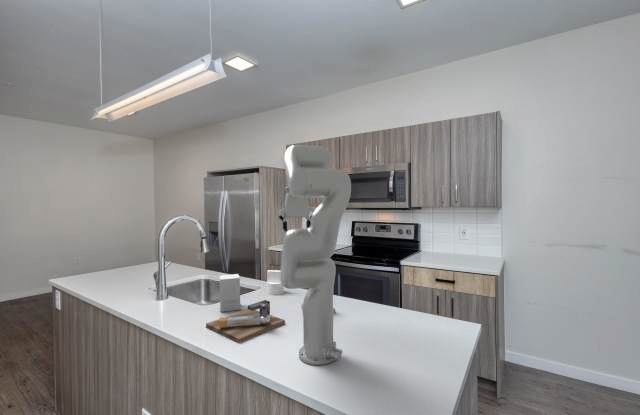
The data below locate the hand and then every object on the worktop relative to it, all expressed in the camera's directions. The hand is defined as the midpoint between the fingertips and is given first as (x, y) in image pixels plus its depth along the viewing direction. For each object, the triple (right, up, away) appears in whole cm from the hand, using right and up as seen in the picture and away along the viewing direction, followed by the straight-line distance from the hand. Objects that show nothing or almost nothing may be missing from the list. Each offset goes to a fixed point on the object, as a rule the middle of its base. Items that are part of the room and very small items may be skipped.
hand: (296, 230), depth 128 cm
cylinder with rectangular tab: (-15, -37, +38) cm, 56 cm away
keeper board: (-20, -38, -7) cm, 43 cm away
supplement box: (-32, -38, +14) cm, 52 cm away
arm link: (-19, -36, -11) cm, 42 cm away
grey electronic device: (+9, -38, +3) cm, 39 cm away
